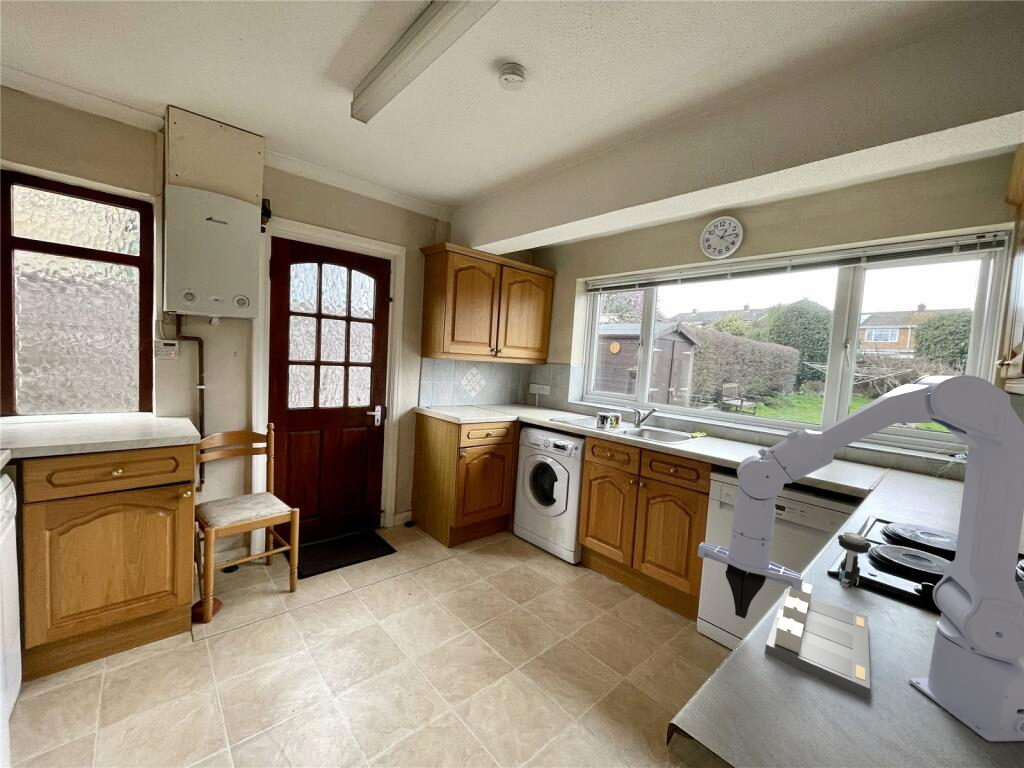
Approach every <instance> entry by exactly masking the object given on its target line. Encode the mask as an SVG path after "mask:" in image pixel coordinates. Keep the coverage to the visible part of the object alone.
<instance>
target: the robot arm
mask: <svg viewBox="0 0 1024 768" xmlns="http://www.w3.org/2000/svg"><path fill="white" fill-rule="evenodd" d="M932 422H933V423H935V424H937V425H940V426H942V427H944V428H946V430H947V431H949V432H950V433H951V434H953V435H954V436H955V437H956V438H957V439H959V440H960V441H961V442H963V443H964V444H965V445H966V446H967V447H968V449H967V450H968V451H967V460H966V466H965V474H964V476H965V477H964V483H963V492H962V500H961V507H960V516H959V523H958V534H957V538H956V539H957V541H956V548H955V556H954V560H952V561H951V562H949V563H948V564H947V565H945V569H944V572H943V573H944V574H943V577H942V578H941V579H940V580H939V581H938V582H937V583H936V585H935V586H934V587H933V590H932V599H933V601H934V604H935V605H936V607H937V608H938V609H939V610H940V612H941V613H940V618H938V621H937V622H936V626H935V627H936V628H935V632H934V633H935V634H934V640H933V641H934V642H933V646H932V651H931V652H932V653H931V658H930V659H931V660H930V664H929V665H930V666H929V673H928V677H910V678H908V682H909V683H910V684H912V686H915V687H916V688H917V689H918V690H920V692H922V693H923V694H924V695H926V696H927V697H929V698H930V699H931V700H933V701H934V702H936V703H937V704H938V705H939V706H941V707H942V708H943V709H945V710H946V711H948V712H949V714H950V715H953V716H954V717H955V718H956V719H958V720H959V721H961V722H962V723H963V724H965V725H966V726H967V727H968V728H969V729H971V730H973V731H974V732H975V733H976V734H977V735H979V736H981V737H982V738H983V739H984V740H985V741H988V742H1024V663H1022V662H1021V660H1020V658H1022V657H1024V596H1023V594H1022V592H1021V590H1020V587H1019V584H1018V583H1017V581H1016V574H1017V573H1016V572H1017V567H1018V566H1017V565H1018V558H1019V557H1018V556H1019V552H1020V551H1019V549H1020V541H1021V535H1022V529H1023V528H1022V527H1023V520H1024V423H1023V421H1022V420H1021V419H1020V417H1019V416H1018V414H1017V412H1016V411H1015V409H1014V408H1013V407H1012V405H1011V395H1010V394H1009V393H1007V392H1006V391H1004V390H1003V389H1001V388H999V387H998V386H996V385H995V384H993V383H992V382H990V381H989V380H986V379H985V378H982V377H980V376H976V375H971V374H969V375H968V374H960V375H944V374H927V375H923V376H921V377H919V378H917V379H915V380H914V381H912V382H911V383H906V384H904V385H900V386H898V387H895V388H893V389H891V390H890V391H889V392H886V393H885V394H882V395H880V396H879V397H877V398H875V399H874V400H872V401H870V402H869V403H867V404H865V405H864V406H861V407H860V408H858V409H856V410H855V411H853V412H851V413H849V414H848V415H846V416H844V417H842V418H841V419H839V420H837V421H836V422H834V423H832V424H830V425H829V426H827V427H825V428H823V429H822V430H820V431H818V430H811V429H803V430H801V431H799V432H798V431H796V429H795V430H791V431H790V432H788V433H787V434H786V436H787V437H788V438H786V439H784V440H782V441H780V442H778V443H777V444H775V445H773V446H771V447H769V448H767V449H765V448H764V447H762V448H760V449H758V450H757V452H758V454H759V455H752V456H751V455H750V456H748V457H746V458H744V459H743V460H742V461H741V462H740V463H739V465H738V468H736V475H737V479H738V483H739V484H738V487H737V488H736V493H735V495H736V498H735V500H734V504H733V505H734V506H733V512H732V520H731V521H732V522H731V529H730V536H729V537H730V538H729V547H725V546H720V545H715V544H711V543H707V542H704V541H702V542H701V543H700V544H699V545H698V551H697V557H699V558H702V559H705V558H706V559H710V560H713V561H715V562H718V563H721V564H724V565H726V566H727V567H726V570H725V573H724V574H725V577H726V580H727V583H728V584H729V587H730V590H731V593H732V597H733V602H734V610H735V611H734V612H735V613H734V614H735V616H737V617H739V618H742V619H746V617H747V615H748V612H749V609H750V605H751V602H752V601H753V600H754V598H755V597H756V595H757V594H758V592H760V590H761V589H762V588H763V586H764V584H765V582H766V580H767V579H768V580H771V581H774V582H776V583H780V584H781V585H784V586H787V587H789V588H790V587H792V589H794V590H797V591H799V592H801V589H802V583H803V581H804V574H802V573H799V572H796V571H794V570H792V569H789V568H787V567H784V566H782V565H780V564H777V563H776V562H773V561H771V560H770V559H771V552H772V545H773V537H774V530H775V529H774V528H775V524H776V523H775V521H776V516H777V508H776V503H777V496H779V495H780V494H781V493H782V491H783V489H784V485H785V484H792V483H793V482H796V481H798V480H800V479H802V478H804V477H807V476H808V475H810V474H812V473H815V472H817V471H818V470H820V469H822V468H824V467H826V466H828V465H830V464H833V461H834V456H835V453H836V451H837V450H839V449H841V448H845V447H847V446H849V445H851V444H853V443H856V442H858V441H860V440H862V439H864V438H866V437H868V436H871V435H873V434H876V433H878V432H879V431H880V432H881V430H884V429H886V428H888V427H890V426H893V425H895V424H932Z"/></svg>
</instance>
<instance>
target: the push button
mask: <svg viewBox="0 0 1024 768" xmlns="http://www.w3.org/2000/svg"><path fill="white" fill-rule="evenodd" d="M837 540H838V545H839V546H840V547H842V549H843V550H845V551H847V552H846V553H845V559H844V561H842V562H841V564H840V569H841V571H840V572H839V575H838V580H840V584H841V586H843V587H846V588H847V587H849V588H852V587H853V586H854V584H855V583H856V586H859V582H860V573H861V567H860V566H858V565H859V561H858V559H859V556H858V554H859V555H864V554H868V553H869V550H870V548H871V547H872V544H871V543H870V542H869V541H866V540H867V538H866V537H865V536H863V535H861V534H858V533H853V532H847V531H846V532H845V531H844V533H843V534H839V535H837Z"/></svg>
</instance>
